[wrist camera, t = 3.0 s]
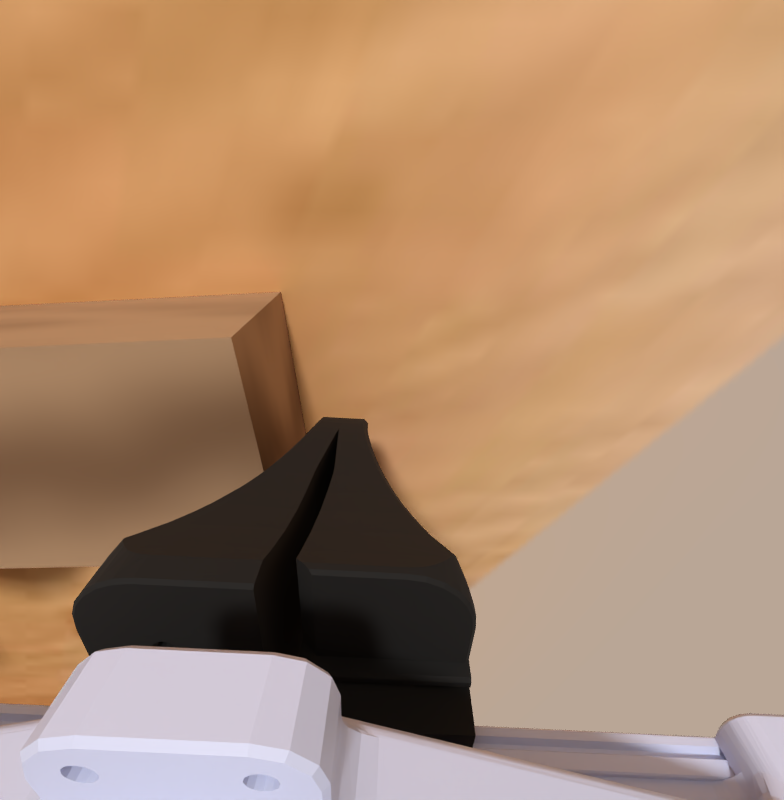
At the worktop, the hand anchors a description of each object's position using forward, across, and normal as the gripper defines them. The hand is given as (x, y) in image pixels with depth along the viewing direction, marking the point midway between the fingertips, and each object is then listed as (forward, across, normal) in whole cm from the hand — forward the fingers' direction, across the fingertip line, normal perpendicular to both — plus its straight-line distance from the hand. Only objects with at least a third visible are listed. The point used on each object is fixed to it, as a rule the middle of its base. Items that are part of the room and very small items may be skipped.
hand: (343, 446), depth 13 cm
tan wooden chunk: (+3, +7, 0) cm, 7 cm away
